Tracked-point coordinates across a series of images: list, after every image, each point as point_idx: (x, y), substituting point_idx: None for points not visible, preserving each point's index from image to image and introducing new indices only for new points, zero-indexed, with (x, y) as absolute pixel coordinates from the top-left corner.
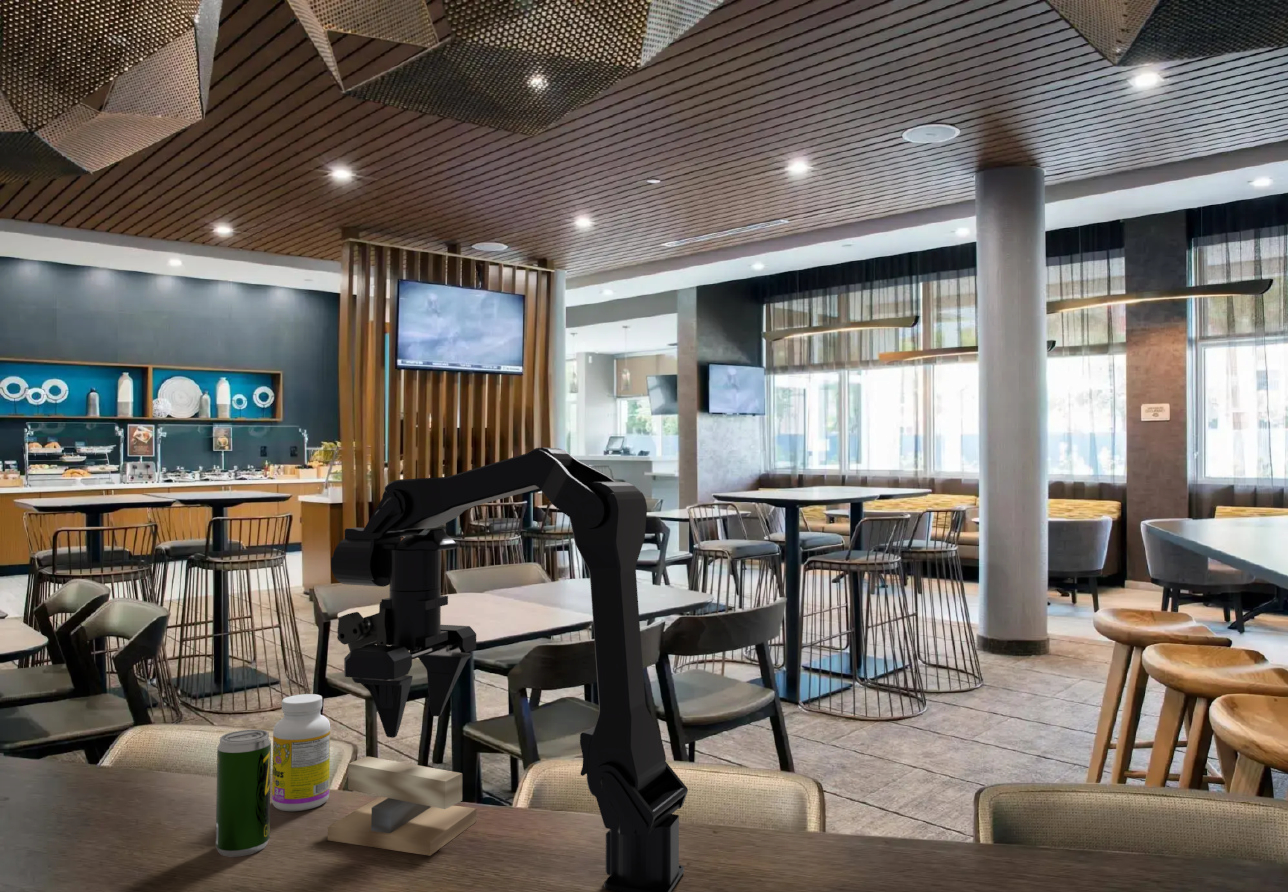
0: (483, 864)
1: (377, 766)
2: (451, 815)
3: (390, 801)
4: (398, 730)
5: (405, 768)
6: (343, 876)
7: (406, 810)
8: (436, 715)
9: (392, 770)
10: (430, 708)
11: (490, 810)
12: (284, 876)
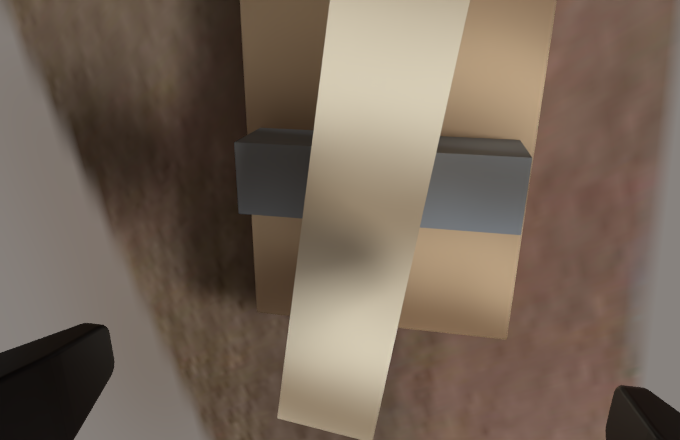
0: (271, 409)
1: (346, 87)
2: (434, 293)
3: (303, 173)
4: (93, 404)
5: (359, 226)
6: (105, 160)
7: None
8: (609, 419)
9: (319, 186)
10: (638, 411)
11: (598, 325)
12: (40, 18)
